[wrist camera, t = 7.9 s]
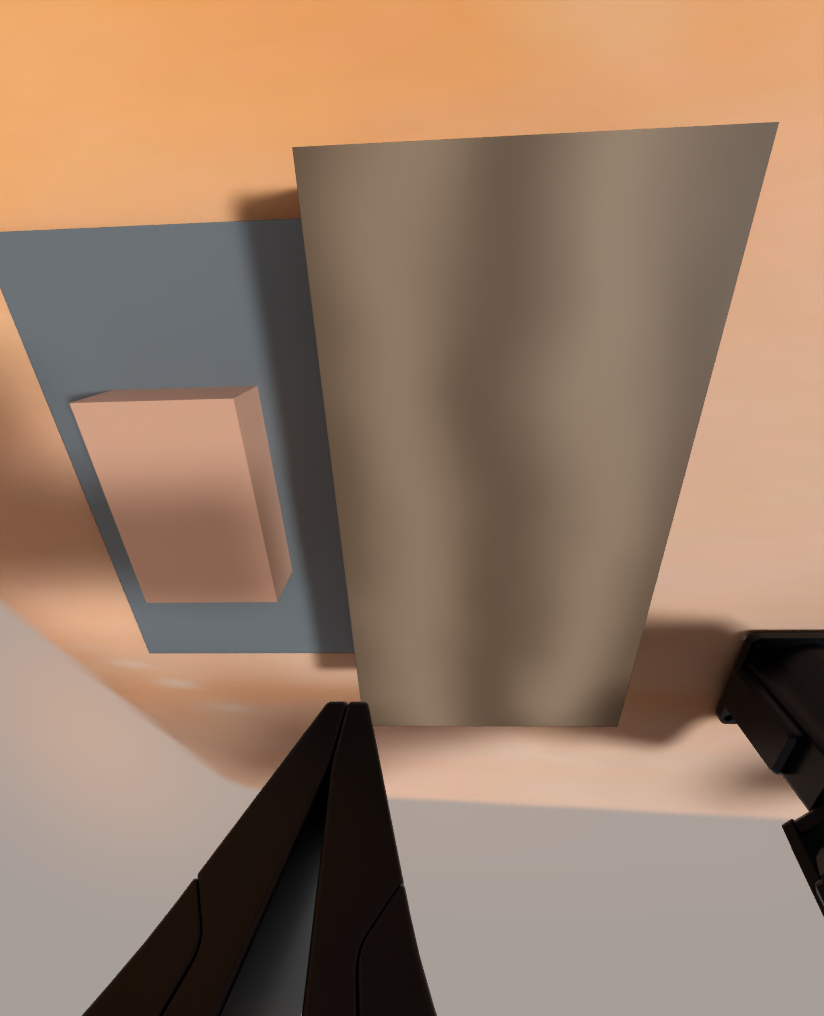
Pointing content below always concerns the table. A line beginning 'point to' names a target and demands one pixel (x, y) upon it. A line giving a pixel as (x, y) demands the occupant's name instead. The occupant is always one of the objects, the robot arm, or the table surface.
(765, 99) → the table surface
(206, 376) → the mat
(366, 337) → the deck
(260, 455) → the salmon brown block
